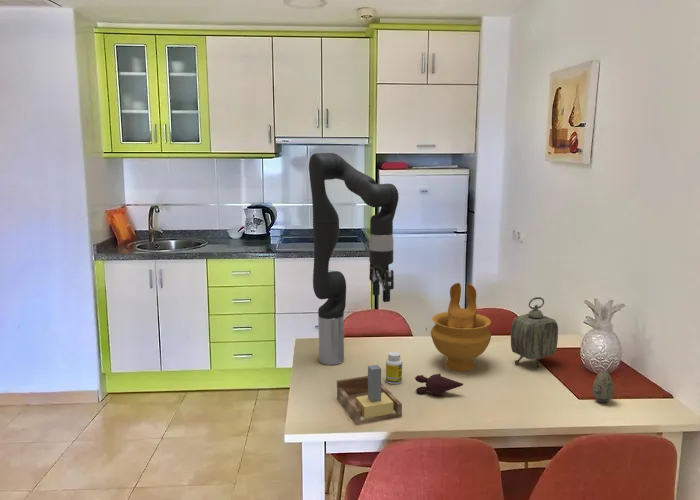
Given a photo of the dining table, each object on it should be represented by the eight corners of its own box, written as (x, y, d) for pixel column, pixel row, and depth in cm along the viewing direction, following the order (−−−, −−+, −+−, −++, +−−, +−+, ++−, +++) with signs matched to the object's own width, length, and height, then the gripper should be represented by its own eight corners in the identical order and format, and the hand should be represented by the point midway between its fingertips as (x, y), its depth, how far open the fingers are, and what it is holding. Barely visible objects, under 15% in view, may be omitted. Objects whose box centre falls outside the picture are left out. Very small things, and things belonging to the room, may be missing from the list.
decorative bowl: (423, 371, 199) (425, 288, 193) (437, 351, 218) (439, 275, 213) (484, 380, 191) (488, 294, 186) (493, 358, 210) (497, 279, 205)
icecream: (462, 371, 183) (416, 372, 186) (462, 374, 175) (413, 375, 179) (464, 393, 182) (417, 393, 185) (463, 397, 175) (414, 397, 178)
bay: (337, 398, 178) (336, 380, 177) (378, 391, 183) (378, 374, 181) (356, 424, 161) (356, 404, 160) (401, 416, 166) (402, 397, 165)
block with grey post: (355, 408, 169) (355, 365, 166) (383, 403, 172) (384, 361, 169) (364, 418, 162) (364, 373, 160) (393, 413, 165) (393, 369, 163)
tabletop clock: (539, 357, 211) (543, 292, 207) (558, 365, 203) (562, 298, 199) (509, 364, 205) (512, 296, 201) (527, 372, 197) (530, 303, 193)
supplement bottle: (400, 385, 188) (401, 357, 186) (384, 384, 189) (384, 356, 187) (402, 378, 193) (403, 351, 191) (386, 377, 194) (387, 350, 192)
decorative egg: (611, 407, 171) (613, 376, 169) (590, 403, 174) (592, 372, 172) (614, 400, 176) (616, 369, 174) (593, 395, 179) (595, 365, 177)
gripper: (401, 251, 172) (401, 303, 175) (383, 243, 185) (383, 292, 188) (378, 252, 170) (378, 305, 173) (362, 245, 183) (362, 294, 186)
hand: (381, 298), depth 181 cm, fingers open, 8 cm apart
